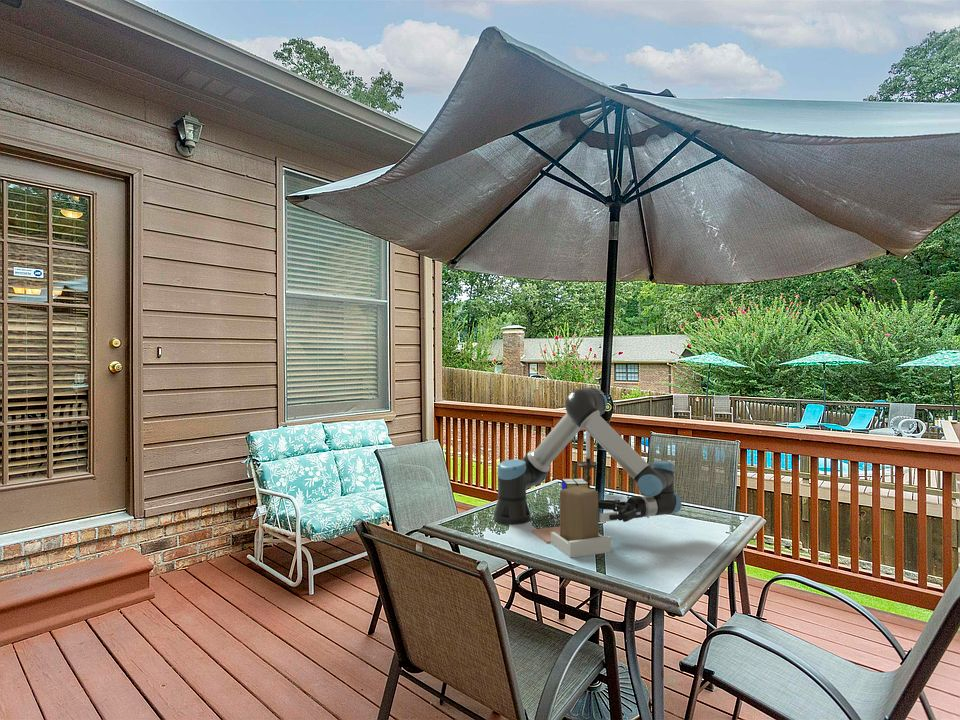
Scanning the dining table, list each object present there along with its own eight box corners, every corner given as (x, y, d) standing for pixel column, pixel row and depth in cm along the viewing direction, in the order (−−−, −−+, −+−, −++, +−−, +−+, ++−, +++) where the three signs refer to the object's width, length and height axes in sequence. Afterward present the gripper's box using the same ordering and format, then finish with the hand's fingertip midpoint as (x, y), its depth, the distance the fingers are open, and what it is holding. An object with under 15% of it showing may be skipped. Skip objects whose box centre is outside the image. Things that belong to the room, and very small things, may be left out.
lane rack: (610, 552, 180) (610, 537, 180) (570, 557, 175) (570, 542, 175) (589, 538, 194) (589, 524, 194) (551, 543, 189) (550, 529, 189)
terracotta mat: (547, 543, 189) (547, 541, 189) (531, 531, 202) (531, 529, 202) (591, 537, 195) (591, 535, 195) (573, 526, 208) (573, 524, 208)
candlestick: (583, 496, 253) (583, 423, 253) (573, 491, 263) (572, 420, 263) (603, 494, 256) (603, 422, 256) (593, 489, 266) (592, 419, 266)
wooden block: (577, 540, 192) (577, 484, 192) (599, 547, 184) (599, 490, 184) (558, 546, 186) (558, 489, 186) (581, 554, 178) (580, 494, 178)
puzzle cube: (561, 500, 246) (561, 478, 246) (583, 499, 247) (582, 478, 247) (566, 506, 236) (566, 484, 236) (588, 505, 237) (588, 483, 237)
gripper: (663, 527, 181) (609, 534, 174) (621, 507, 204) (572, 513, 198) (663, 505, 181) (609, 511, 174) (621, 488, 204) (572, 493, 198)
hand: (589, 512), depth 186 cm, fingers open, 13 cm apart
